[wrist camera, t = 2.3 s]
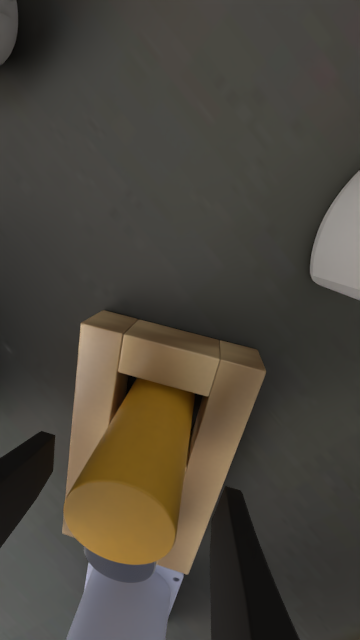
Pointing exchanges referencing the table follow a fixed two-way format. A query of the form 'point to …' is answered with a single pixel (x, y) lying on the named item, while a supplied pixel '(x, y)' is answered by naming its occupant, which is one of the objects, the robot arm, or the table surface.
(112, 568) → the steel peg
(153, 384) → the yellow peg
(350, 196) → the eye dropper bottle
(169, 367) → the peg stand
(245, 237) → the table surface
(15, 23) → the frog figurine
